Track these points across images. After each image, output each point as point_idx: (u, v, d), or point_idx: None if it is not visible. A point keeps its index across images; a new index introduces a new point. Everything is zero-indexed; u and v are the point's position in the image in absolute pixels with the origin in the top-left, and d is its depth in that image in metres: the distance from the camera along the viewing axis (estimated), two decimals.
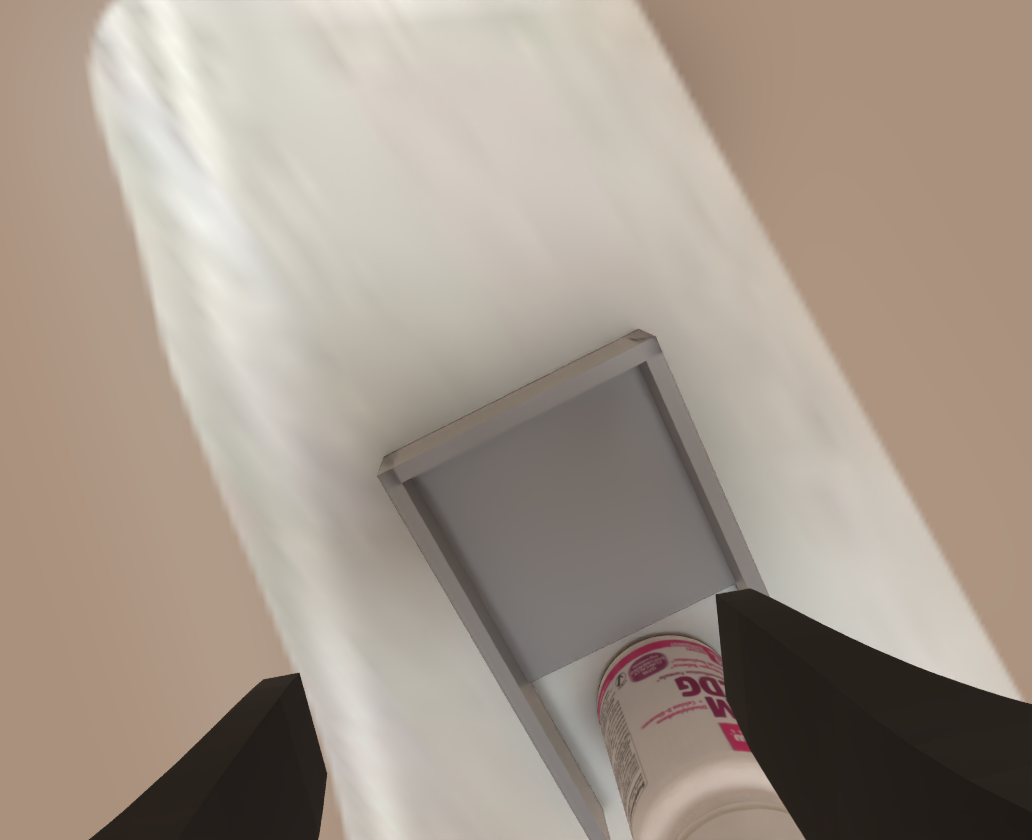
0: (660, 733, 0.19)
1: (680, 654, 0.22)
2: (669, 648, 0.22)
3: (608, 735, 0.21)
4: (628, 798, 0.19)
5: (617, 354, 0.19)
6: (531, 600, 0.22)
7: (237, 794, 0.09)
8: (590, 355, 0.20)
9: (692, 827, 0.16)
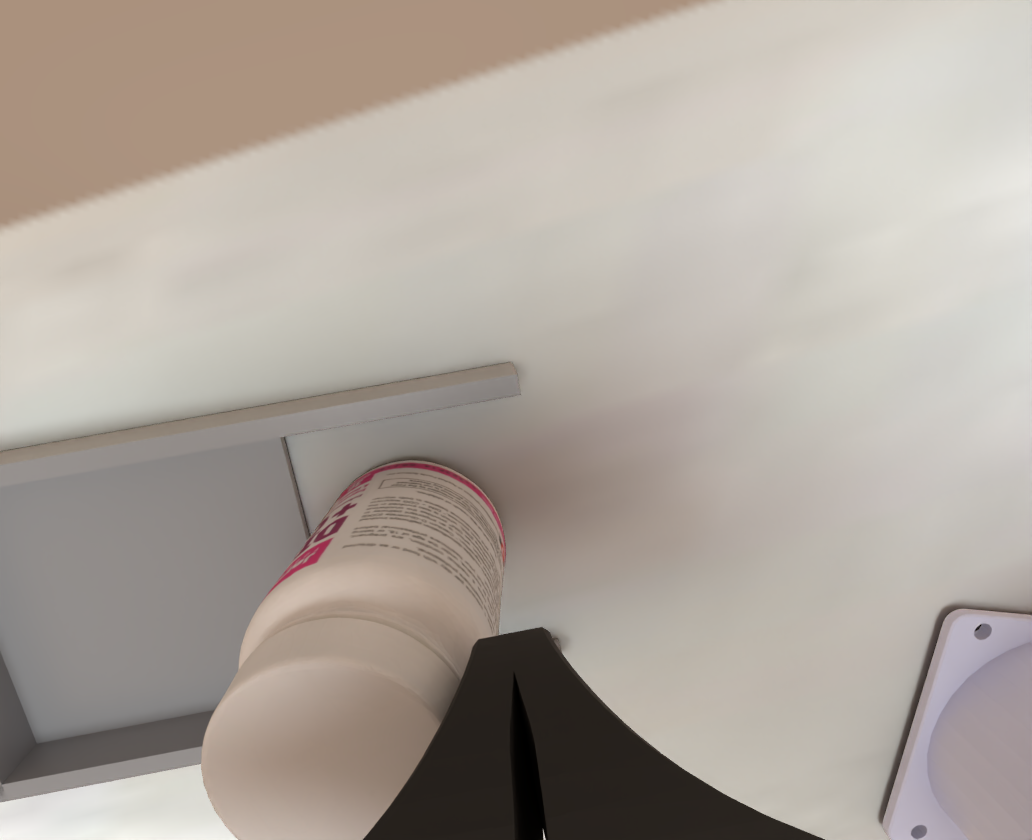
0: None
1: None
2: None
3: None
4: None
5: None
6: (235, 659, 0.19)
7: (516, 740, 0.09)
8: None
9: None
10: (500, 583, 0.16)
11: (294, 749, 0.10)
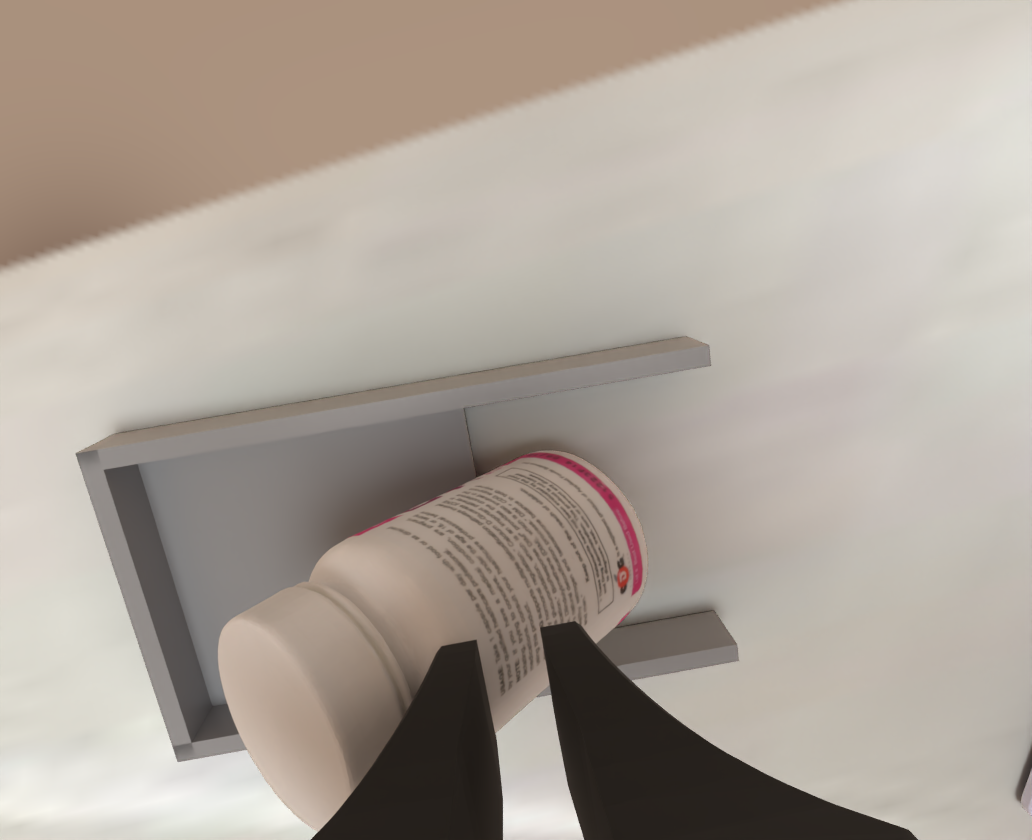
0: None
1: None
2: None
3: None
4: None
5: (93, 496, 0.17)
6: None
7: (468, 749, 0.09)
8: None
9: None
10: (584, 610, 0.14)
11: (256, 691, 0.12)
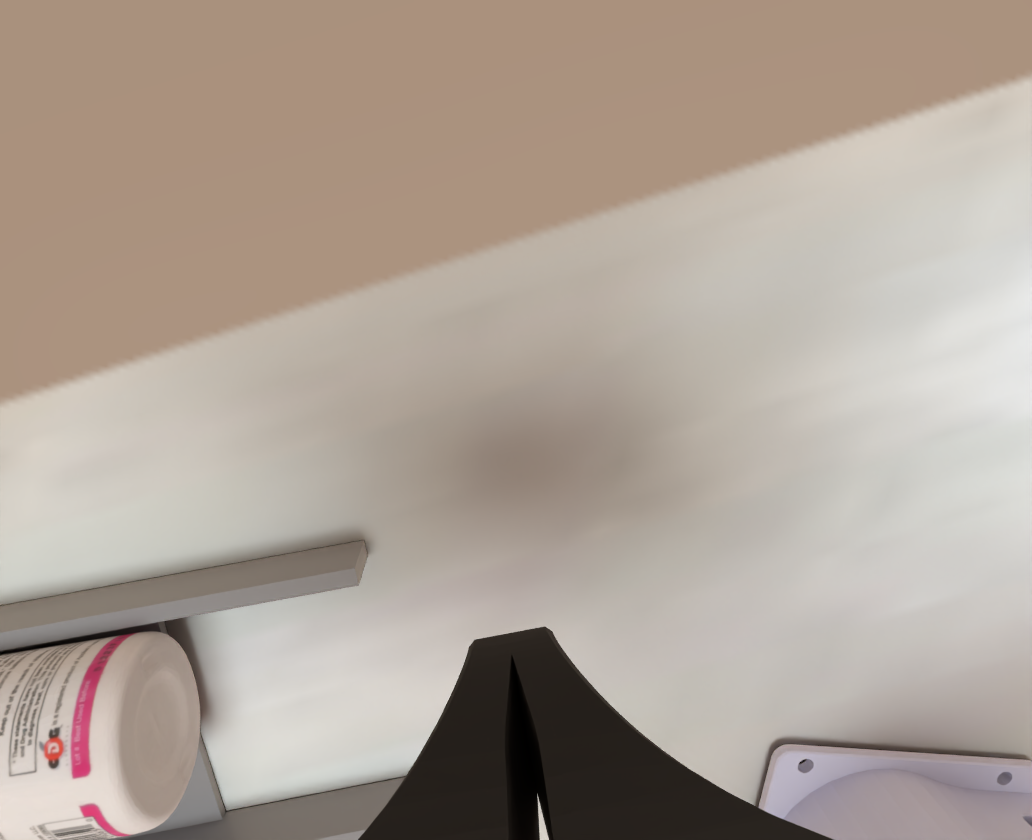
0: None
1: None
2: None
3: None
4: None
5: None
6: None
7: (511, 740, 0.09)
8: None
9: None
10: None
11: None
